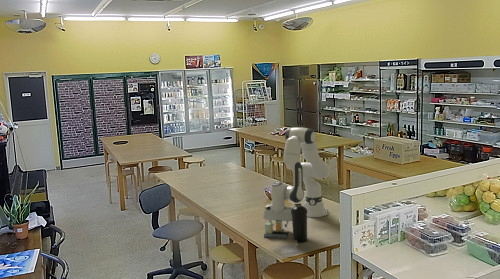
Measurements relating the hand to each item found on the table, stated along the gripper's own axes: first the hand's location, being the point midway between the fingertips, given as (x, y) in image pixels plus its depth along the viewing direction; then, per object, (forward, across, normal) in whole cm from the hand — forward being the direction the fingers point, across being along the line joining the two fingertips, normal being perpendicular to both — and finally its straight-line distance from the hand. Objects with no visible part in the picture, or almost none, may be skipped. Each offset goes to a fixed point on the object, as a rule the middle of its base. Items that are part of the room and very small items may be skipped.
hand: (279, 226), depth 291 cm
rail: (+4, -1, +11) cm, 11 cm away
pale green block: (+4, 0, 0) cm, 4 cm away
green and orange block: (+2, +4, +11) cm, 12 cm away
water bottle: (+4, -17, +13) cm, 21 cm away
